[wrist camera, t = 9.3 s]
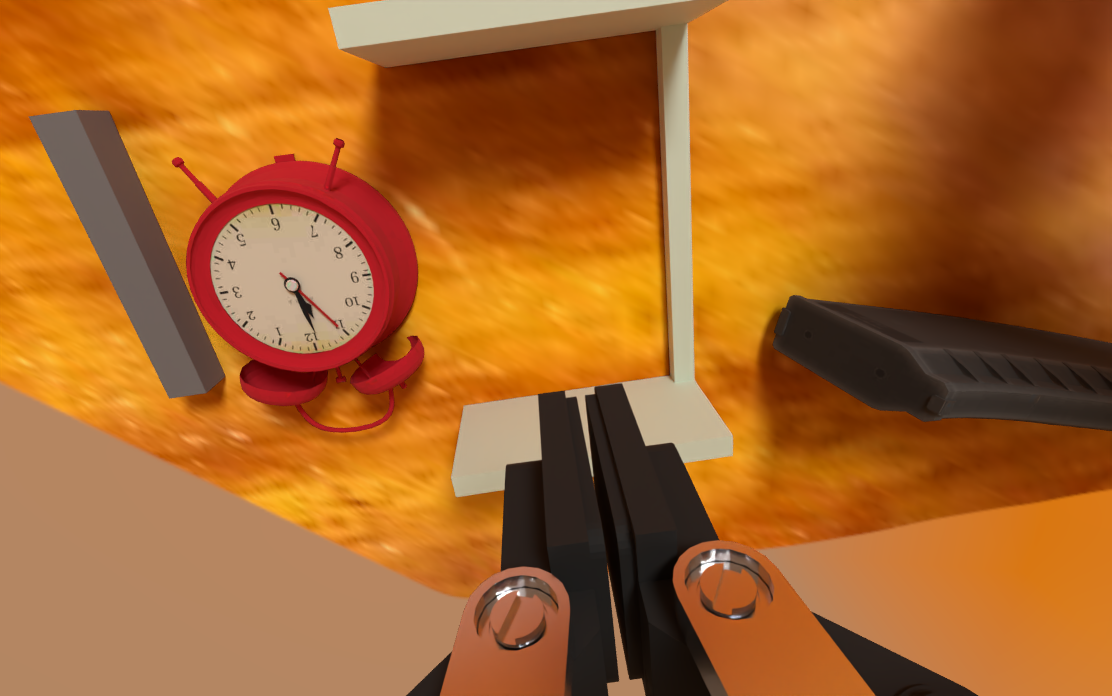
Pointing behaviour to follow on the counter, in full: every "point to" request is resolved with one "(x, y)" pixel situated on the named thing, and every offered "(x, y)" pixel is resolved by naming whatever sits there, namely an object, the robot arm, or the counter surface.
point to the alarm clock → (305, 280)
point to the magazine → (950, 364)
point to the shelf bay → (665, 6)
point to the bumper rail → (130, 246)
